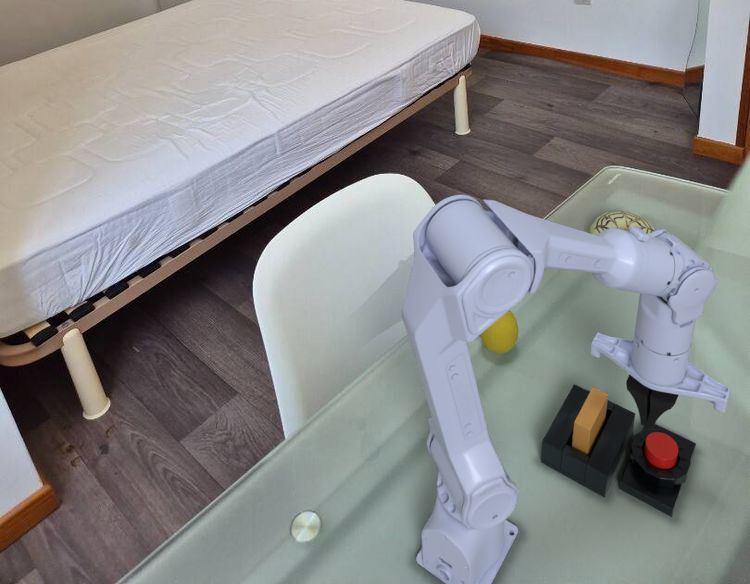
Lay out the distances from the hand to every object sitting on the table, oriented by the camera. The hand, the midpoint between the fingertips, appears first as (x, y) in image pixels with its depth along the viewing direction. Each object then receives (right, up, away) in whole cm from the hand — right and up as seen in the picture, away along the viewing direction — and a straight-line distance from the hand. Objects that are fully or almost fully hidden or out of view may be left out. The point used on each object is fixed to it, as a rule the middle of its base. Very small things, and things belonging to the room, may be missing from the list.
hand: (649, 420), depth 81 cm
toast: (-6, -6, +5) cm, 10 cm away
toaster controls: (+2, -7, +3) cm, 8 cm away
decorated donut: (+11, +11, +40) cm, 43 cm away
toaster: (-6, -6, +6) cm, 10 cm away
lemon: (-14, 0, +21) cm, 25 cm away
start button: (+2, -5, +2) cm, 5 cm away
